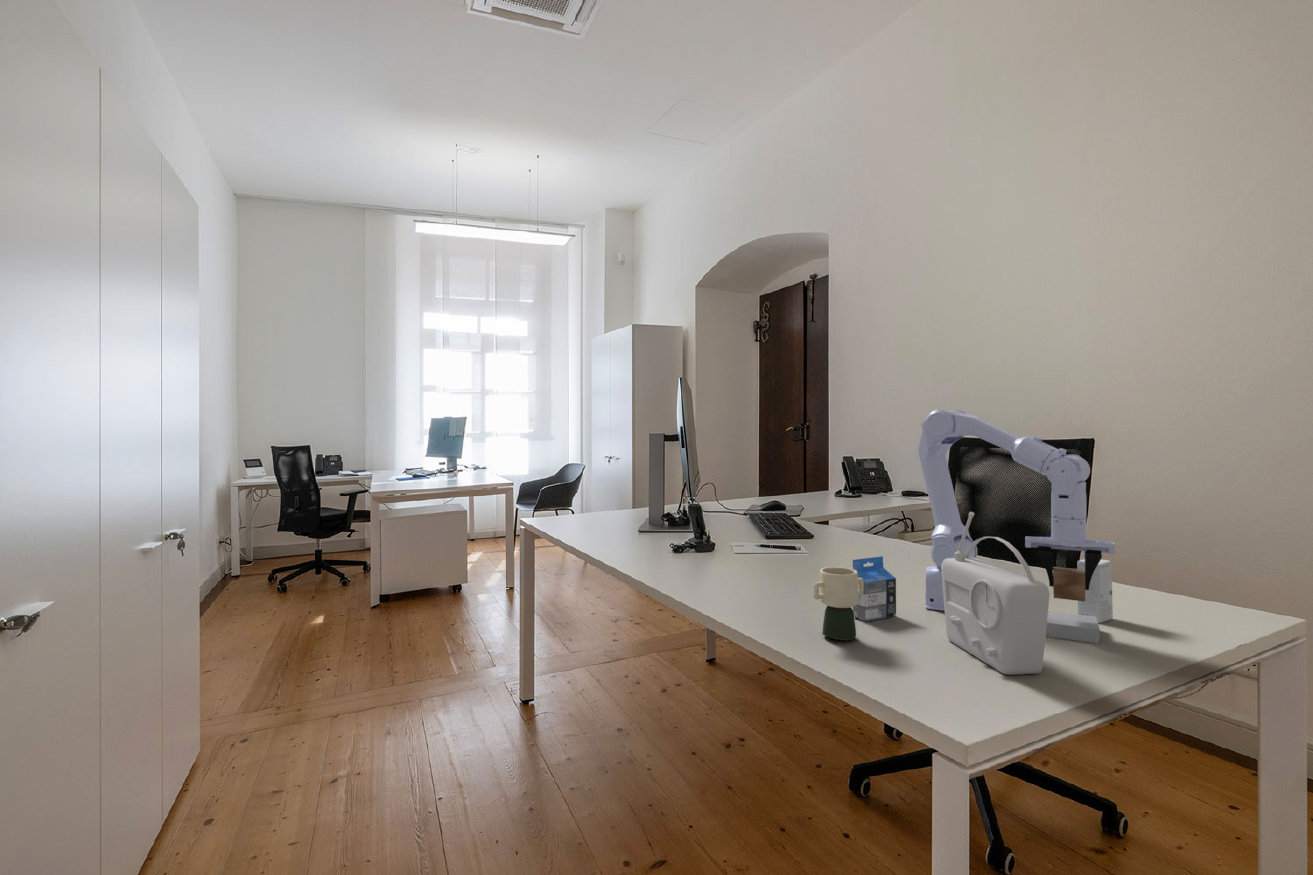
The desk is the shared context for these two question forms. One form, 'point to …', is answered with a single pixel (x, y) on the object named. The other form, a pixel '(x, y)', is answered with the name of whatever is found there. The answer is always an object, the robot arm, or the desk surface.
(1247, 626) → the desk surface
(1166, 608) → the desk surface
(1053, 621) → the stoneware block
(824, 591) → the character mug
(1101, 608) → the skincare box
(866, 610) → the ink cartridge box
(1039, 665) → the radio
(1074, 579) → the walnut cube
